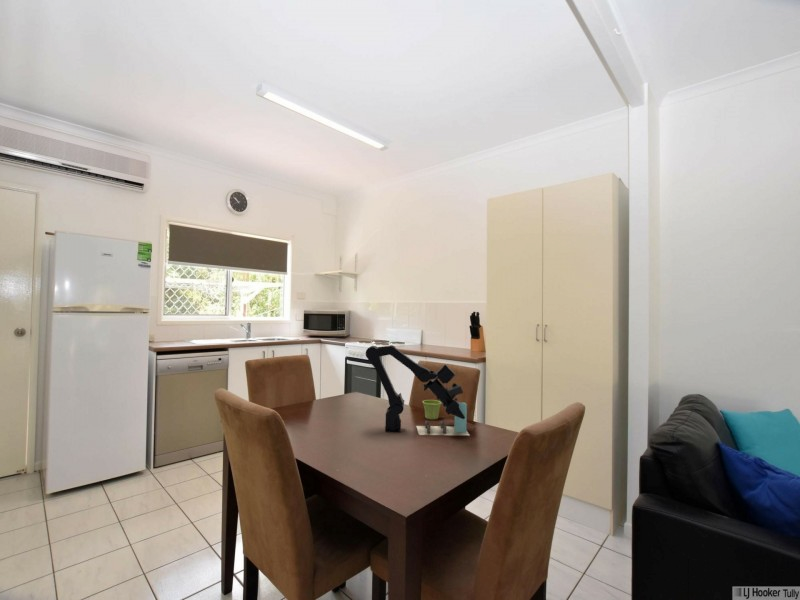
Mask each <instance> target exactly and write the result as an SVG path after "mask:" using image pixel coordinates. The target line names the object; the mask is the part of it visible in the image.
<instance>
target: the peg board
mask: <svg viewBox="0 0 800 600" xmlns="http://www.w3.org/2000/svg"><path fill="white" fill-rule="evenodd" d="M424 423H425V425H415V427H416V429H417V433H418V435H419V436H469V437H470V435H471V434H470V433H469V432H468V430H467V429H466V432H456V431H455V429H454V425H453V426H451V425H450V426H447V425H445V424H444V423H445V422H444V420H440V425H439V426H438V425H436V426H435V425H429V420H425V421H424Z"/></svg>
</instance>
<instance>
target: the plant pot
mask: <svg viewBox="0 0 800 600" xmlns="http://www.w3.org/2000/svg"><path fill="white" fill-rule="evenodd" d="M422 404H423V407H424V416H425V419H427V420H438V419H439V414H440V410H441V409H440V408H441V406H442V405H441V404H442V403H441V401H440V400H438V399H436V400H435V399H424V400H422Z"/></svg>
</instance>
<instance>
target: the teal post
mask: <svg viewBox="0 0 800 600" xmlns="http://www.w3.org/2000/svg"><path fill="white" fill-rule="evenodd" d="M458 402H459V409H460V410H461V412H462V413H463V415H464V416H465V418H464V419H462V418H459V417H457V416H455V415H454V424H453V427H454V429H455V431H456V432H466V430H467V421H468V420H467V412H468V411H467V410H468V404H467V403H466V402H463V401H461V402H460V401H458Z"/></svg>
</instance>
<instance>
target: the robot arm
mask: <svg viewBox="0 0 800 600" xmlns="http://www.w3.org/2000/svg"><path fill="white" fill-rule="evenodd" d="M389 355H390V356H392V357H393V358H394V359H395V360H397V361H398V362H399V363H400V364H402V365H404V366H405V367H406V368H408V370H409V371H411V372H412V373H413V374H414V375H415V377H416V379H418V380H419V382H422V383H423V391H424V392H425V391H426V390H429V391H430V392H431V393H432V394H433V396H434V397H436V398H435V399H436V400H438V401H440V402H441V404H442V406H443V407H444V410H445V413H446V414H447V415H453V416H454V417H455V416H457V417H459V418H462V419H464V418H465V416H464V415H463V413H462V412H461V410H460V409H459V402H460V401H458V398H457V396H458V395H461V394H464V391H463V388H462V385H461V384H459V383H456V382H454V383H452V384H451V387H449V388H448V387H447V386H444V384H448V383H449V382H450V381H452V380H453V378H455V376H456V375H457V374H455V372H454V371H453V370H452V369H451V368H450V367H448V366H447V365H446V364H444V365H442V367H440V368H439V370H437V371H436V370H434V371H433V370H430V369H429V368H427V367H426V366H424V365H422V364H419V363H417V362H415V361H414V360H413V359H411V358H410V357H409V356H407V355H405V353H404V352H402V351H401V350H399V349H398V348H397V347H396V346H395V345H393V344H391V345H387V346H386V345H385V346H377V345H370V346H369V347H368V348H367V349H366V351H365V357H366V358H367V360H368V361H369V363H370V364H371V365H372V367H373V368H374V369H375V371H376V372H375V373H377V376H378V378H379V381H380V382H381V385H382V387H383V389H384V391H385V393H386V395H387V399H388V404H389V405H388V407H387V408H386V412H385V420H384V421H385V422H384V423H385V426H384V432H385V433H400V432H401V429H402V419H401V417H400V415H401V414H402V413H403V412H404V409H405V400H404V398H403V396H402V395H403V394H402V393H401V392H400V393H397V391H396V390H395V387H394V385H393V383H392V381H391V379H390V377H389V374H388V372H387V369H386V368H385V365H384V364H383V360H382V359H383V358H382V357H384V356H389Z"/></svg>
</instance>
